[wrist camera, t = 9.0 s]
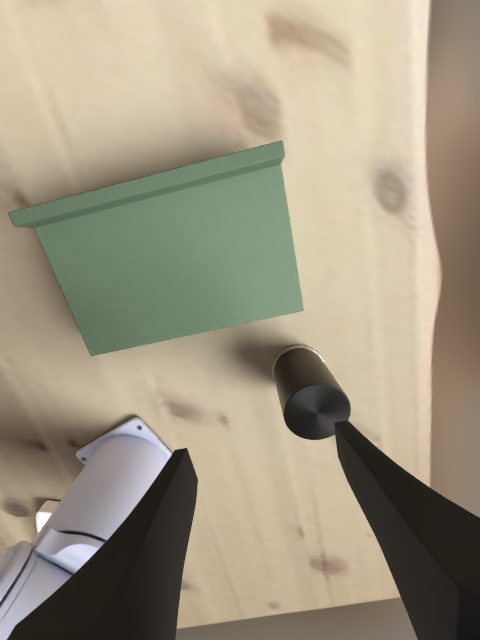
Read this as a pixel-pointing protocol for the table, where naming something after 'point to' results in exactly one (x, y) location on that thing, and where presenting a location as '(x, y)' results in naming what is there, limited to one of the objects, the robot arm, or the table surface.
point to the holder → (308, 393)
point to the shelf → (174, 250)
